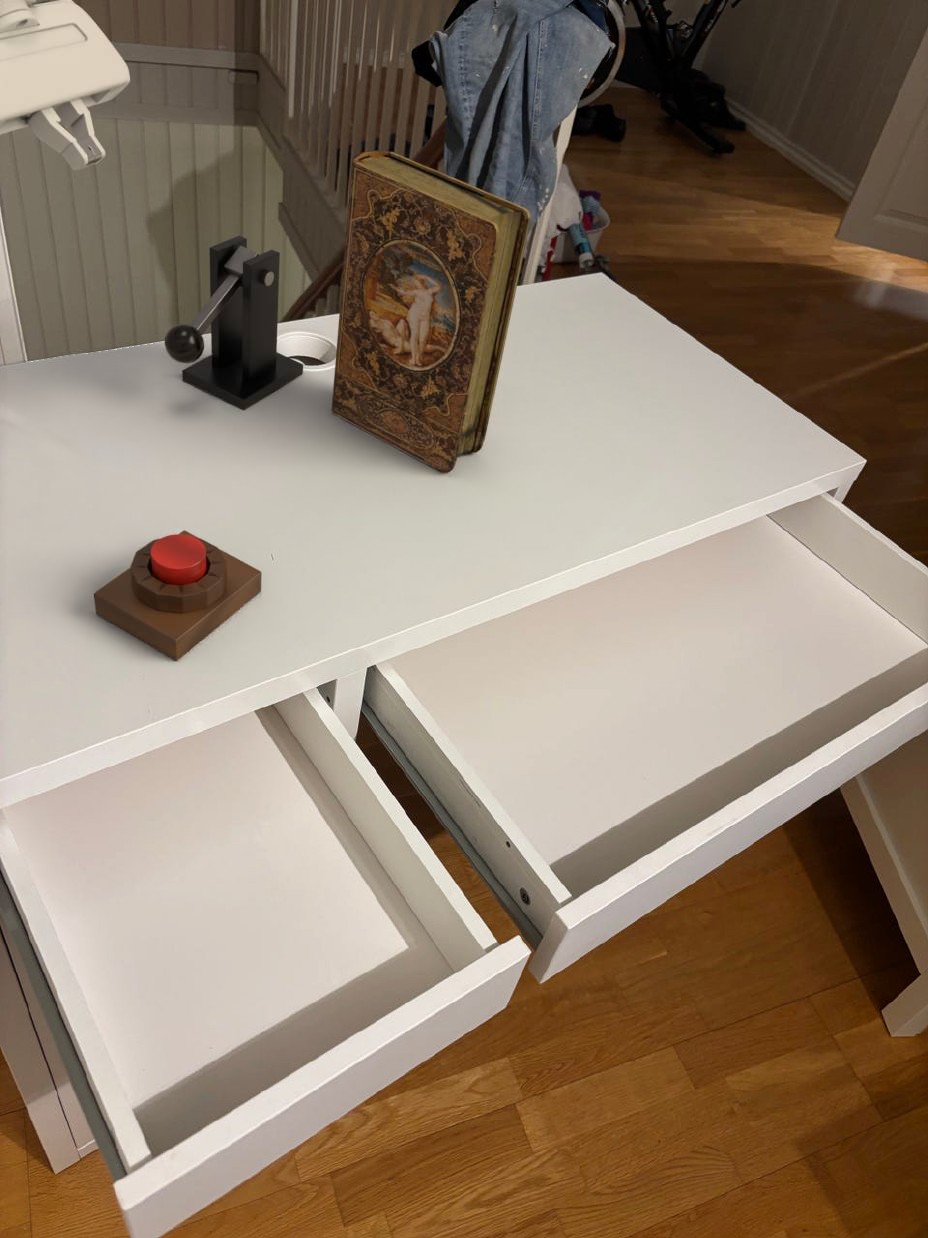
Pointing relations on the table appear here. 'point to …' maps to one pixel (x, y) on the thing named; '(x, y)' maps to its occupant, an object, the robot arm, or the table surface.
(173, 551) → the button
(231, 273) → the lever
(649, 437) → the table surface
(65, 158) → the robot arm
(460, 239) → the book
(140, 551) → the button block
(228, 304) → the bracket
